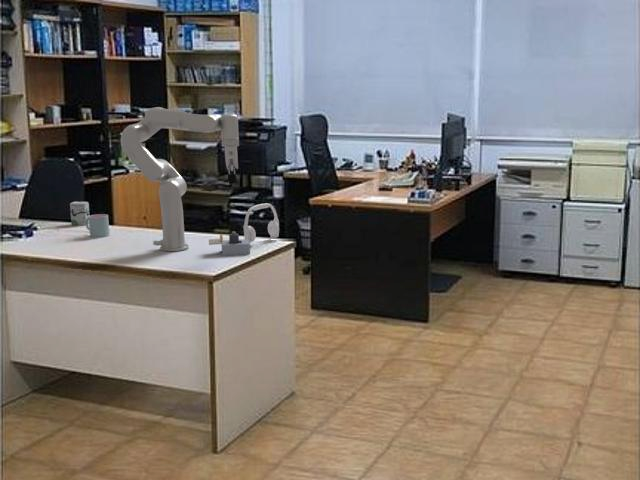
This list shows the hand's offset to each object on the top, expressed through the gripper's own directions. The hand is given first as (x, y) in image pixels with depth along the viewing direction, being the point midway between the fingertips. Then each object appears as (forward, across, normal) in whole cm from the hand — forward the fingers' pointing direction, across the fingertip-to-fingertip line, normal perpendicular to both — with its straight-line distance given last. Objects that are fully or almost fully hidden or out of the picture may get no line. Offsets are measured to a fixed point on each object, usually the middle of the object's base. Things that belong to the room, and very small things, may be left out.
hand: (232, 181), depth 364 cm
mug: (+31, +48, +66) cm, 87 cm away
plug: (+30, -7, 0) cm, 31 cm away
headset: (+31, +12, -13) cm, 35 cm away
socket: (+30, -7, 0) cm, 31 cm away
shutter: (+25, -7, +9) cm, 28 cm away
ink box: (+31, +81, +78) cm, 117 cm away
